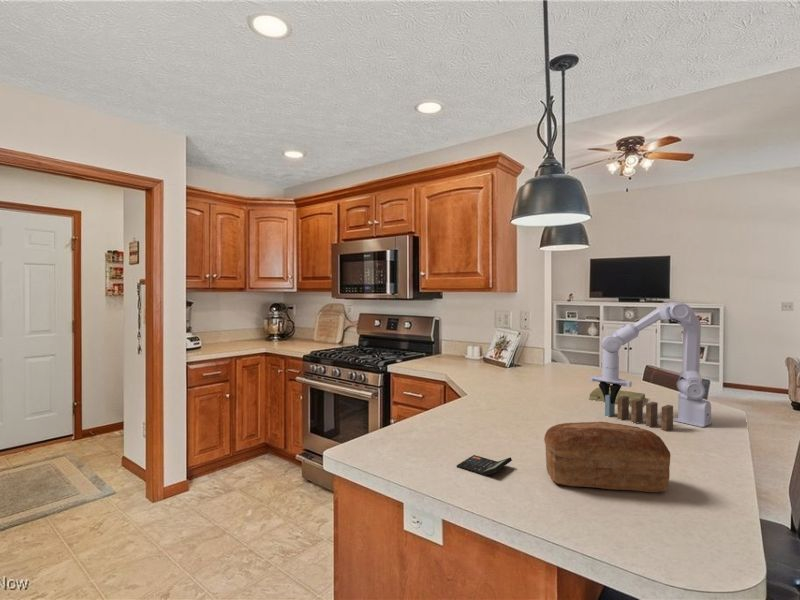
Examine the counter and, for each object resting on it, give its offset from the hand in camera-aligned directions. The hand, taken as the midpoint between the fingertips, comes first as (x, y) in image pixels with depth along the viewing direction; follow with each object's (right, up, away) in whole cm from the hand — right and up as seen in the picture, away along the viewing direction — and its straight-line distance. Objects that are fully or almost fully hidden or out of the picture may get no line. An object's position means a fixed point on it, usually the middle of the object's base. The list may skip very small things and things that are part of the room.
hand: (609, 402), depth 159 cm
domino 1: (0, -5, 0) cm, 5 cm away
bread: (-30, -6, -56) cm, 64 cm away
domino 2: (+3, -5, -4) cm, 7 cm away
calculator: (-58, -6, -48) cm, 75 cm away
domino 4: (+9, -5, -12) cm, 16 cm away
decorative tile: (+15, -5, +24) cm, 29 cm away
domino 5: (+12, -5, -16) cm, 21 cm away
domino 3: (+6, -5, -8) cm, 11 cm away
